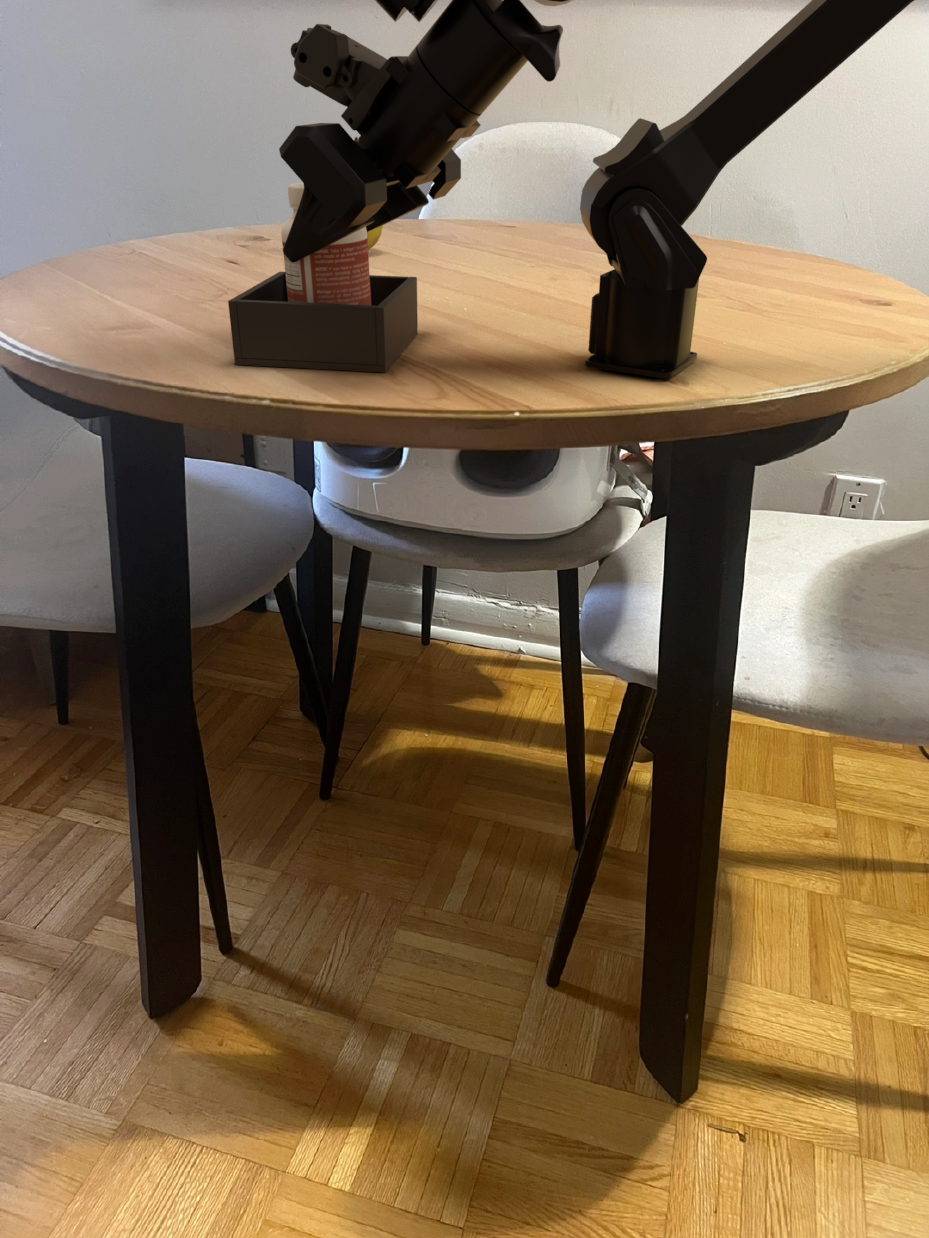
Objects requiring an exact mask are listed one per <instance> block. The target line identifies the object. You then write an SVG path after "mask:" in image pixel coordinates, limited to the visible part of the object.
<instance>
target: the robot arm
mask: <svg viewBox="0 0 929 1238" xmlns="http://www.w3.org/2000/svg"><path fill="white" fill-rule="evenodd" d="M374 1H375V2H376V4H378V6H380V8H382V10H383V11H384V12H385V13H386V14H387V15H388V16H389V18H391V20H393V22H394V23H397V21H399V20H400V19H401V18H402V16H404V15H405V13H406V12H408V13H409V14H410V15H411V16H412V17H413V18H414V19H415V20H416V21H417V22H418V23H421V22H422V21H423V19H424V18H425V17H427V15H428V14H429V13H430V11H431V10H432V9H433V8H434V7H435V5H436V4H437V3H438V2H439V0H374ZM533 1H534V2H536V3H538V4H540V5H542V6H545V7H558V6H562V5H567V4H568V3H570V2H573V1H574V0H533ZM914 1H915V0H810V2H808V3H807V4H806V5H805V6H804V7H802V9H800V10H799V11H798V12H797V13H796V14H795V15H794V16H793V17H792V18H791V19H790V20H789V21H787V22H786V23H785V24H784V25H782V27H780V29H778V30H777V31H776V32H775V33H774V34H773V35H772V36H771V37H770V38H769V39H768V40H766V41H765V42H764V43H763V44H762V45H761V46H760V47H759V48H757V50H756V51H754V53H752V54H751V55H750V56H749V57H748V58H747V59H746V60H744V61H743V62H742V63H741V64H740V65H739V66H738V67H737V68H736V69H735V70H734V71H732V72H731V73H730V74H729V75H728V76H727V77H726V78H724V79H723V81H721V82H720V83H719V84H718V85H717V86H716V87H714V88H713V89H712V90H711V91H710V92H709V93H708V94H707V95H706V96H705V97H704V98H703V99H701V100H700V101H699V102H698V103H697V104H696V105H695V106H694V107H693V108H692V109H690V111H688V112H687V113H686V114H685V115H684V116H682V117H680V118H679V119H677V120H676V121H674V122H672V123H670V124H668V125H666V126H665V127H662V128H661V129H659V126H658V124H657V123H656V122H654V121H650V120H647V119H645V118H638V119H636V121H635V122H634V123H633V124H632V125H631V126H630V128H628V130H627V132H626V133H625V134H624V135H623V137H622V138H621V139H620V140H619V141H618V142H617V144H616V145H615V146H614V147H612V148H611V149H609V150H608V151H607V152H605V153H603V154H601V155H598V156H594V157H593V159H592V163H593V164H594V165H596V166H597V167H598V168H596V169H595V170H594V171H593V172H592V174H590V176H589V177H588V179H587V180H586V181H585V183H584V185H583V187H582V190H581V195H580V204H579V211H580V216H581V222H582V223H583V225H584V227H585V229H586V231H587V233H588V234H589V236H590V237H591V238H592V239H593V241H594V242H595V244H596V245H597V246H598V247H599V248H600V249H601V250H602V251H603V252H604V253H605V254H606V258H607V262H608V264H609V265H610V267H612V268H613V269H612V270H609V271H607V272H605V273H602V274H600V275H599V284H598V287H599V288H598V293H595V294H594V295H593V296H592V297H591V306H590V307H591V308H590V321H589V335H588V348H587V350H588V352H589V353H590V354H591V355H590V356H588V357H587V358H585V359H584V367H586V368H589V369H591V368H592V369H598V370H603V371H604V370H605V371H610V372H611V371H612V372H618V373H624V374H629V375H630V374H631V375H635V376H636V375H637V376H643V377H650V378H655V379H657V378H658V379H663V380H664V379H665V380H666V379H667V380H669V379H672V378H673V377H675V376H676V375H678V374H679V373H680V372H682V371H683V370H684V369H686V368H687V367H688V366H690V365H691V364H692V363H694V362H695V361H697V359H698V353H697V352H696V351H691V349H692V342H693V333H694V324H695V316H696V307H697V301H698V291H699V282H700V277H701V275H702V274H703V271H704V269H705V266H706V264H707V262H708V257H707V254H705V252H704V251H703V250H702V249H701V248H700V246H699V245H698V244H697V243H696V241H695V240H694V239H693V238H692V237H691V236H690V234H689V233H688V232H687V231H686V230H685V229H684V227H683V225H684V224H685V223H686V222H687V220H688V219H689V218H690V217H691V216H692V214H693V213H694V212H695V211H696V210H697V208H698V207H699V205H700V203H701V202H702V201H703V199H704V197H706V194H707V193H708V191H709V190H710V188H711V187H712V185H713V184H714V182H715V180H716V179H717V177H718V176H719V174H720V173H721V171H722V170H723V169H724V168H725V167H726V165H728V163H730V162H731V161H732V160H733V159H734V158H735V157H737V155H739V154H740V153H741V152H742V151H743V150H744V149H745V148H747V147H748V146H749V145H750V144H752V142H753V141H755V140H756V139H757V138H759V136H760V135H762V134H763V133H764V132H765V131H766V130H767V129H768V128H769V127H771V126H772V125H773V124H774V123H775V122H777V121H778V120H779V119H780V118H782V116H783V115H785V114H786V113H787V112H788V111H789V110H790V109H791V108H792V107H794V106H795V105H796V104H797V103H798V102H799V101H801V100H802V99H803V98H804V97H805V96H806V95H807V94H809V92H811V91H812V90H813V89H814V88H816V86H818V85H819V84H820V83H821V82H822V81H823V80H824V79H826V78H827V77H828V76H829V75H830V74H831V73H832V72H833V71H835V70H836V69H837V68H838V67H839V66H840V65H842V64H843V63H844V62H845V61H846V60H847V59H849V58H850V57H851V56H852V55H853V54H854V53H856V52H857V51H858V50H859V49H860V48H861V47H863V46H864V45H865V44H866V43H867V42H868V41H869V40H870V39H871V38H873V37H874V36H875V35H876V34H877V33H878V32H879V31H880V30H882V29H883V28H884V27H885V26H886V25H888V24H889V23H890V22H891V21H892V20H893V19H895V17H896V16H898V15H899V14H900V13H901V12H902V11H904V10H905V9H906V8H907V7H908V6H909V5H910V4H912V3H913V2H914ZM538 20H539V19H537V18H536V17H535V15H533V13H532V12H531V11H530V10H529V9H528V8H527V6H526V5H525V4H524V3H523V2H522V0H451V1H450V2H449V4H448V5H447V6H446V8H444V10H443V11H442V12H441V14H440V15H439V16H438V18H437V19H436V20H435V22H434V23H433V24H432V25H431V26H430V28H429V29H428V30H427V32H426V33H425V34H424V36H422V38H421V39H420V41H419V42H418V43H417V44H416V45H415V46H414V48H413V49H412V50H411V52H410V53H409V55H396V56H394V55H393V56H390V57H388V58H386V57H384V56H383V55H381V54H379V53H378V52H376V51H374V50H372V49H371V48H369V47H367V46H365V45H364V44H362V43H360V42H358V41H357V40H355V39H354V38H351V37H350V36H348V35H346V34H345V33H342V32H340V31H337V30H335V29H332V26H331V25H329V24H323V23H316V24H314V26H313V27H307V29H306V30H305V29H304V30H302V31H301V34H300V37H299V39H298V41H296V42H294V43H292V44H291V46H290V54H291V57H292V58H293V66H294V73H293V76H292V78H293V80H294V82H296V83H297V84H299V85H300V86H302V87H304V88H312V89H314V90H315V91H317V92H319V93H321V94H322V95H324V96H326V97H327V98H329V99H331V100H333V101H335V102H336V103H338V104H339V105H342V106H344V107H346V108H345V110H344V111H343V112H342V114H341V115H340V117H341V119H343V121H345V123H346V124H347V125H348V126H349V128H350V129H351V130H352V131H354V132H355V131H356V132H357V133H358V134H359V135H360V136H359V137H357V138H358V140H356V141H354V140H355V139H353V138H352V137H351V135H350V134H349V133H348V131H346V129H345V128H344V127H343V126H342V125H341V124H340V123H338V122H337V123H336V122H317V123H310V124H301V125H295V126H294V128H293V129H292V131H291V132H290V133H289V135H288V136H287V137H286V139H285V140H284V141H283V143H281V146H279V148H278V150H279V155H280V158H281V159H282V160H283V161H284V162H285V164H286V165H287V166H288V167H289V168H290V169H291V170H292V171H293V173H294V174H295V175H296V176H297V178H298V179H299V180H300V181H301V182H303V183H304V191H303V194H302V198H301V201H300V204H299V207H298V210H297V213H296V215H295V218H294V221H293V224H292V226H291V229H290V232H289V234H288V237H287V240H286V242H285V245H284V248H283V247H282V253H284V254H283V256H284V255H285V256H286V257H287V258H288V259H289V260H290V261H291V262H292V263H294V262H297V261H299V260H301V259H303V258H305V257H307V256H309V255H311V254H313V253H315V252H317V251H319V250H320V249H322V248H324V247H326V246H328V245H330V244H332V243H334V242H336V241H338V240H340V239H342V238H344V237H346V236H348V235H350V234H352V233H354V232H356V231H358V230H360V229H362V228H364V227H366V230H367V233H368V232H370V231H372V230H374V229H376V228H378V227H380V226H382V225H383V226H384V225H387V224H388V223H391V222H393V221H395V220H397V219H400V218H401V217H403V216H406V215H408V214H410V213H413V212H414V211H417V210H418V209H421V208H424V207H426V206H427V205H429V202H430V201H429V198H428V196H429V197H430V198H431V199H432V200H434V201H435V200H438V199H440V198H443V197H446V196H447V195H448V193H449V192H450V191H452V189H453V188H454V187H455V186H456V184H458V182H459V181H460V180H461V179H462V159H461V158H460V156H459V155H458V154H457V153H456V152H455V151H454V150H453V148H454V147H455V146H456V145H457V143H458V142H459V141H460V140H461V139H467V138H470V137H472V136H473V135H474V134H475V132H477V130H478V129H479V128H480V127H481V123H480V122H479V121H478V119H479V118H480V117H481V116H482V114H483V113H484V112H485V111H486V110H487V109H488V107H490V105H491V104H492V103H493V102H494V101H495V99H497V97H499V95H500V94H501V93H502V92H503V90H504V89H505V88H506V87H507V86H508V85H509V83H511V81H512V80H513V79H514V78H515V77H516V75H518V73H519V72H520V71H521V70H522V69H523V67H524V66H525V65H526V64H527V63H529V64H530V65H531V66H532V67H533V68H534V69H535V70H536V72H538V74H539V75H540V76H541V77H542V78H543V79H544V80H545V81H546V82H550V83H551V82H552V81H554V80H555V79H556V77H557V75H558V72H559V69H560V67H561V59H560V44H561V38H562V35H563V32H564V28H563V26H562V25H561V24H555V25H543V24H541V23H540V21H538ZM431 182H432V183H433V185H432V186H430V188H429V191H428V192H427V194H428V196H427V195H426V194H425V193H424V192H423V191H422V189H421V188H420V187H419V185H424V184H428V183H431Z"/></svg>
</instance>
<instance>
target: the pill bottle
mask: <svg viewBox="0 0 929 1238" xmlns="http://www.w3.org/2000/svg"><path fill="white" fill-rule="evenodd" d="M303 191H304V183H303V182H302V181H301V182H295V183H290V184H288V186H287V192H288V194H287V195H288V203H289V208H290V209H292V215H291V217H289V218H288V219H287V220H286V221H285V222H284V223H283V225H282V228H281V244H282V249H283V248H284V245H285V242H286V240H287V237H288V234H289V232H290V229H291V226H292V224H293V221H294V218H295V215H296V213H297V210H298V207H299V204H300V201H301V198H302V194H303ZM282 253H283V252H282ZM369 258H370V257H369V250H368V240H367V230H366V227H364V228H362V229H360V230H358V231H356V232H354V233H352V234H350V235H348V236H346V237H344V238H342V239H340V240H338V241H336V242H334V243H332V244H330V245H328V246H326V247H324V248H322V249H320V250H319V251H317V252H315V253H313V254H311V255H309V256H307V257H305V258H303V259H301V260H299V261H297V262H294V263H292V262H291V261H290V260H289V259H288V258H287V257H286V256H285V255H284V253H283V262H284V272H285V274H286V285H287V295H288V302H304V303H326V304H349V305H371V292H370V275H371V274H370V260H369Z"/></svg>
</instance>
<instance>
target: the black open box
mask: <svg viewBox="0 0 929 1238" xmlns="http://www.w3.org/2000/svg"><path fill="white" fill-rule="evenodd" d="M369 275H370V292H371V305H349V304H326V303H304V302H288V295H287V285H286V274H285V271H278V272H277V273H275V274H273V275H270V276H269V277H267V278H266V279H265V280H262V281H261V282H259V283H257V284H256V285H254V286H252V287H250V288H248V289H246V290H245V291H243V292H241V293H239V294H238V295H236V296H234V297H233V298H231V299H229V300H228V301H227V303H228V313H229V321H230V322H229V323H230V332H231V340H232V349H233V350H232V351H233V358H234V365H235V366H254V367H270V368H271V367H274V368H289V369H291V368H292V369H310V370H327V371H329V370H330V371H345V372H346V371H349V372H364V373H381V374H382V373H385V374H386V373H387V372H388V370H389V369H390V368H391V367H393V365H394V363H395V362H396V361H397V360H398V359H399V357H400V356H401V355H402V354H403V353H404V352H405V351H406V349H407V348H408V347H409V346H410V344H412V343H413V341H414V340H415V339H416V338H417V337H418V334H419V328H418V327H419V326H418V323H419V321H418V320H419V319H418V277H417V276H403V275H401V276H400V275H376V274H375V275H374V274H369Z"/></svg>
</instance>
